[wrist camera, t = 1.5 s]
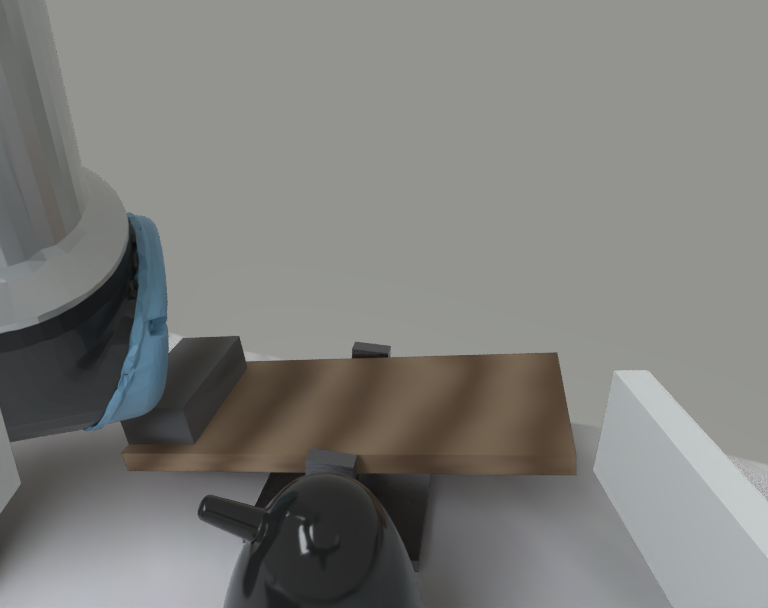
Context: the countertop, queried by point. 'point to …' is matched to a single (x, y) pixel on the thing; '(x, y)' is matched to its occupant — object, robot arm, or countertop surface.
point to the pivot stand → (369, 480)
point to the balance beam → (355, 414)
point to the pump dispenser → (316, 548)
